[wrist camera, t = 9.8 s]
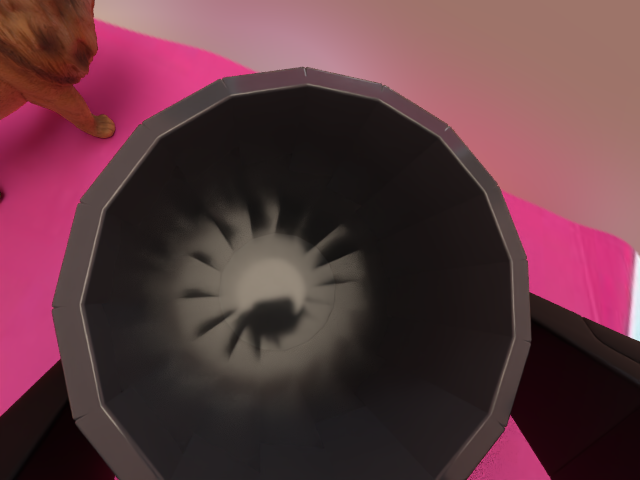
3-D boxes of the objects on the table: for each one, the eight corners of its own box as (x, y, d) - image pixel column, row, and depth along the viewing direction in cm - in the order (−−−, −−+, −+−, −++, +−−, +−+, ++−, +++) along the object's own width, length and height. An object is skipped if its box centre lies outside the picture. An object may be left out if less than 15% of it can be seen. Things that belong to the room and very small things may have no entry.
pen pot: (333, 358, 16) (542, 543, 4) (204, 351, 15) (-21, 579, 3) (342, 237, 18) (521, 114, 5) (224, 222, 16) (121, 24, 4)
